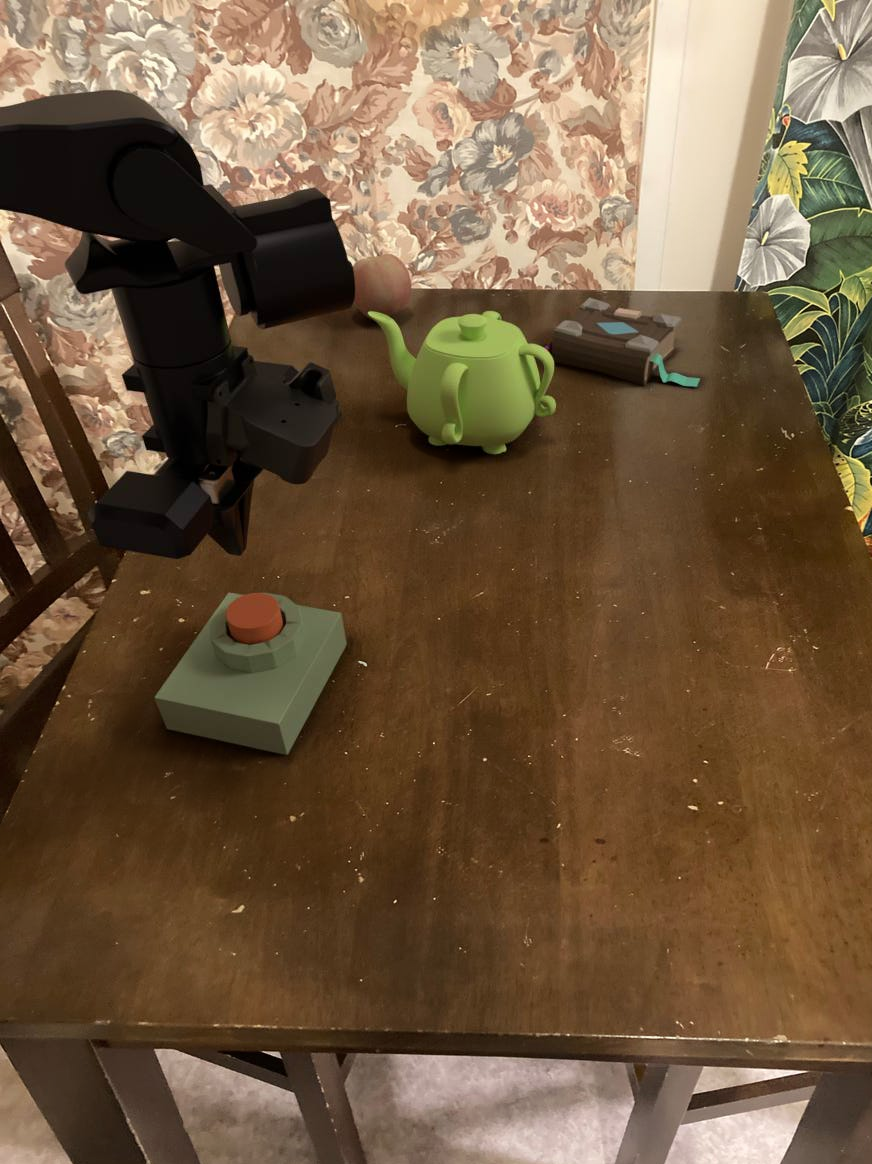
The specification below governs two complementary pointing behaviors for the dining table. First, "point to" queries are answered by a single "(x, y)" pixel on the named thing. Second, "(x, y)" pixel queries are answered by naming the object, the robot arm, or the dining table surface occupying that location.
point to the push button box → (253, 678)
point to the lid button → (254, 618)
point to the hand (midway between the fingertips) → (237, 552)
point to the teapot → (471, 380)
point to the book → (617, 343)
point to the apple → (381, 285)
